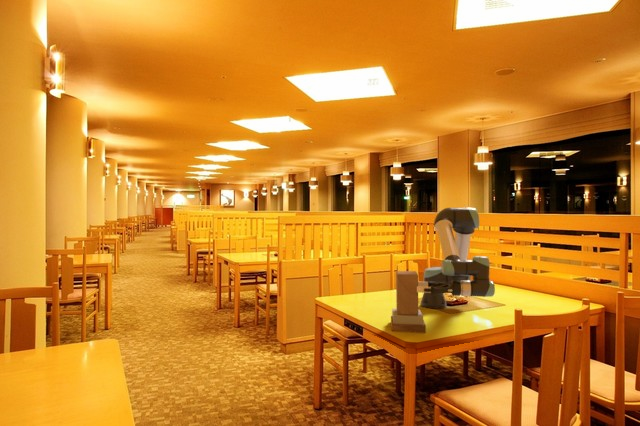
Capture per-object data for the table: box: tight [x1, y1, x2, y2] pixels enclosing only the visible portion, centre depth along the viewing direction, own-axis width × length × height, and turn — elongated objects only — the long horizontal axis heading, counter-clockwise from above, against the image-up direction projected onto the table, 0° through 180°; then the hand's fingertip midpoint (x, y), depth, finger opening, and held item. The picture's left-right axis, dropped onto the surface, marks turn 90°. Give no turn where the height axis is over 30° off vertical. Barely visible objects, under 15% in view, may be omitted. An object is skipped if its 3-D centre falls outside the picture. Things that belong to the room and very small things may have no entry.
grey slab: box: [391, 308, 424, 325], centre depth 203 cm, size 14×14×4 cm
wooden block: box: [395, 270, 419, 315], centre depth 202 cm, size 10×10×20 cm
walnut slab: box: [390, 315, 427, 334], centre depth 202 cm, size 16×16×4 cm
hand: (415, 286), depth 201 cm, fingers open, 13 cm apart
